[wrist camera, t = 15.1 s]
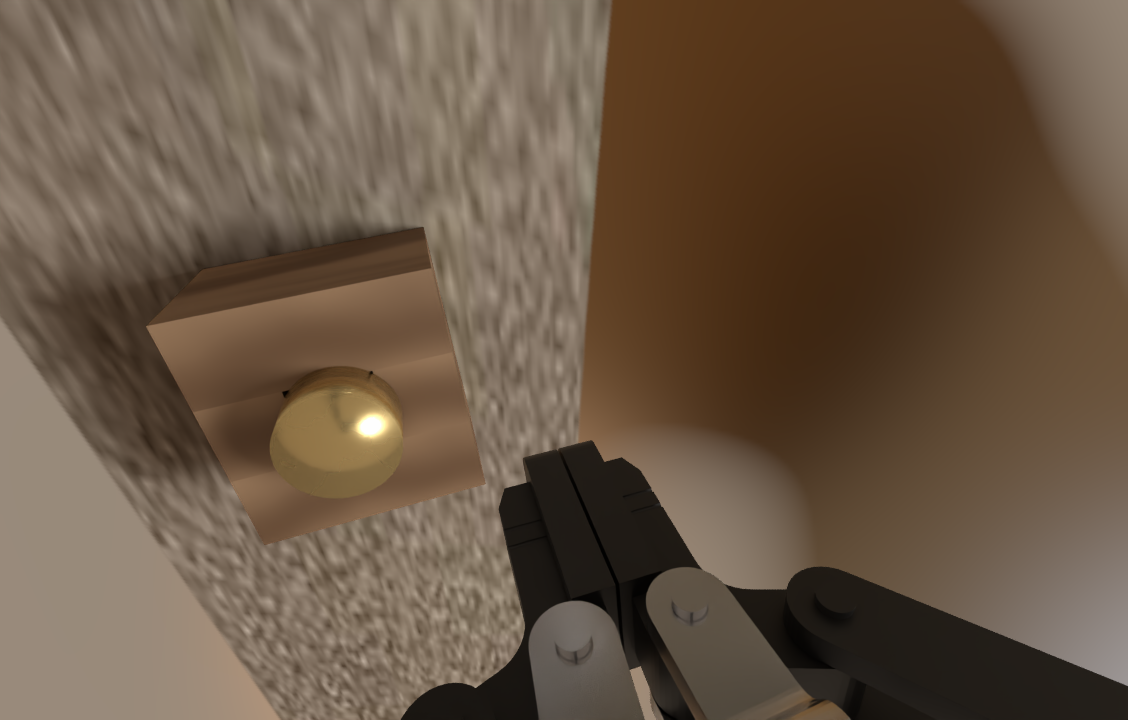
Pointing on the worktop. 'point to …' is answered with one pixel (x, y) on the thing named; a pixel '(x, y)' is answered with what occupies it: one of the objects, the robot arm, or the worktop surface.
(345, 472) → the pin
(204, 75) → the worktop surface
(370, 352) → the block
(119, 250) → the worktop surface
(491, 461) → the worktop surface
